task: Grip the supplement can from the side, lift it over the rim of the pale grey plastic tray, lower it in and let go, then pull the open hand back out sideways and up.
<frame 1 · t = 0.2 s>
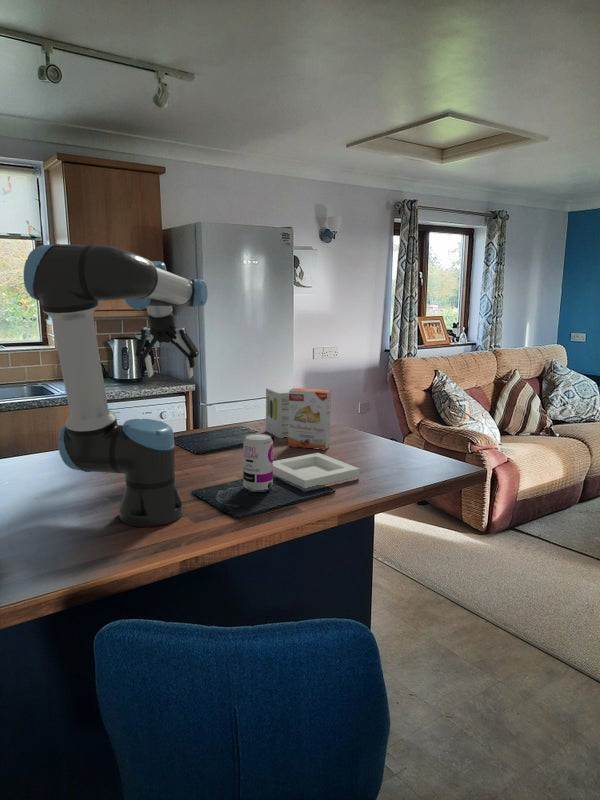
hand: (170, 376, 184), 27 cm above the table, tool tilted 15°, fingers open, 13 cm apart
tray: (311, 476, 171), on the table
supplement can: (258, 489, 160), on the table
supplement box: (287, 433, 223), on the table
cracker box: (308, 447, 204), on the table
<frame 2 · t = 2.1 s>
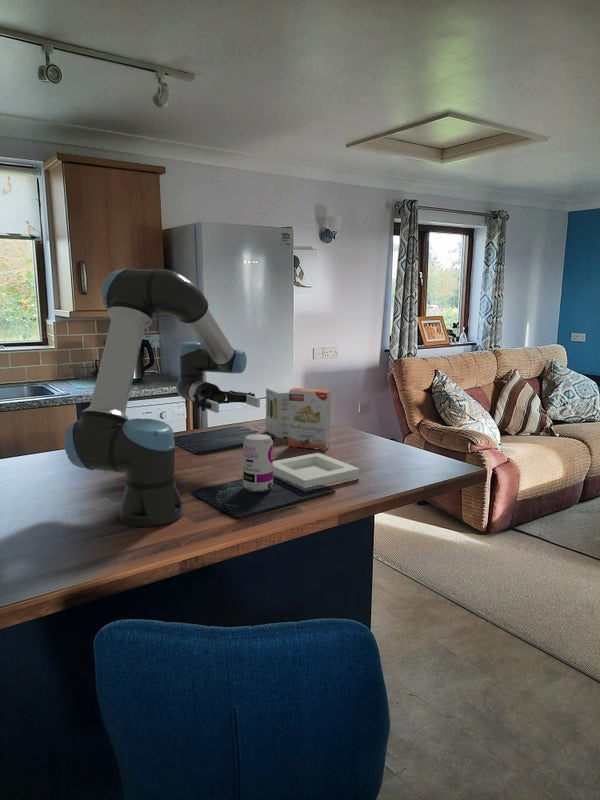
hand: (238, 405, 164), 22 cm above the table, tool horizontal, fingers open, 13 cm apart
nothing on the table moved.
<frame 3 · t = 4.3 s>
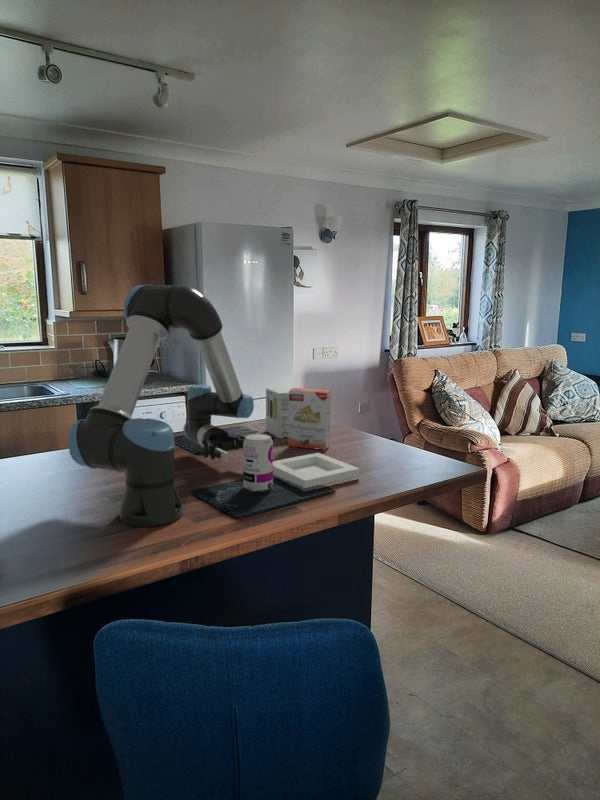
hand: (248, 454, 164), 8 cm above the table, tool horizontal, fingers open, 13 cm apart
nothing on the table moved.
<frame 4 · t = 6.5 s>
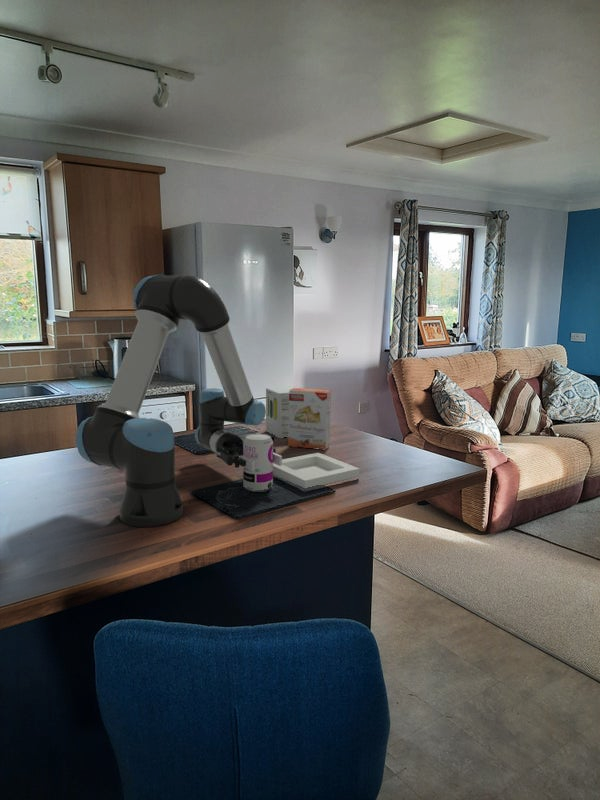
hand: (267, 463, 155), 9 cm above the table, tool horizontal, fingers closed on supplement can, 8 cm apart
supplement can: (258, 489, 160), on the table, touching gripper
everything else where it was.
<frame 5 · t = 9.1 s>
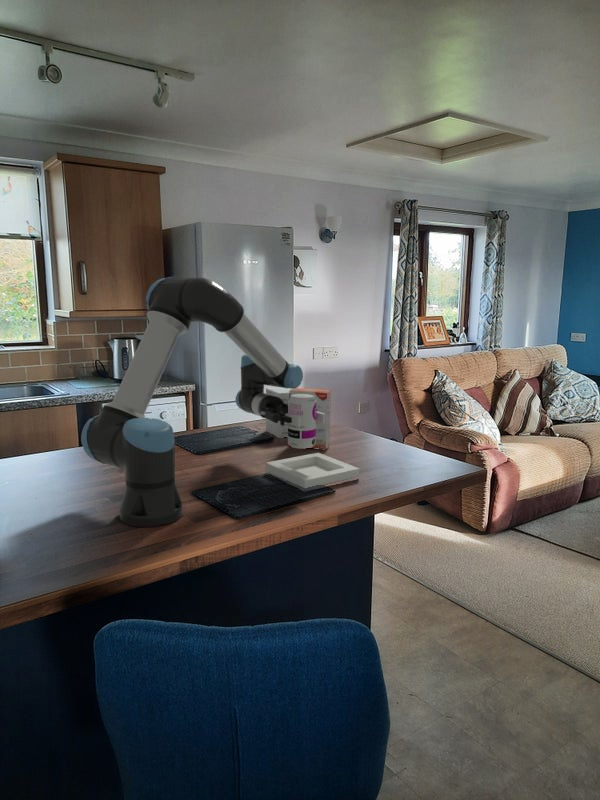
hand: (312, 420, 162), 19 cm above the table, tool horizontal, fingers closed on supplement can, 8 cm apart
supplement can: (301, 446, 168), point 10 cm above the table, touching gripper
everything else where it was.
when the fingers open (11 cm above the table, at t = 11.7 s): supplement can drops 1 cm, resting on tray.
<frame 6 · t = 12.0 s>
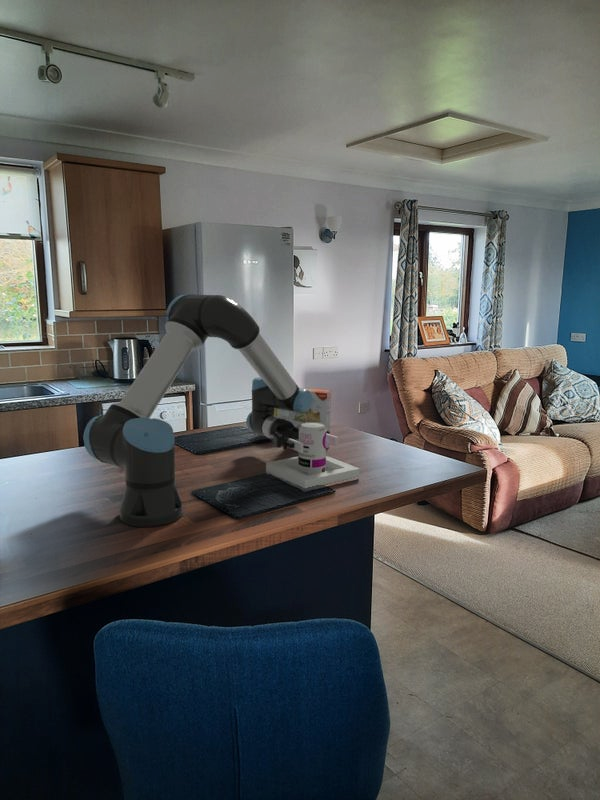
hand: (320, 444, 166), 11 cm above the table, tool horizontal, fingers open, 12 cm apart
supplement can: (311, 474, 171), point 1 cm above the table, touching tray
everything else where it was.
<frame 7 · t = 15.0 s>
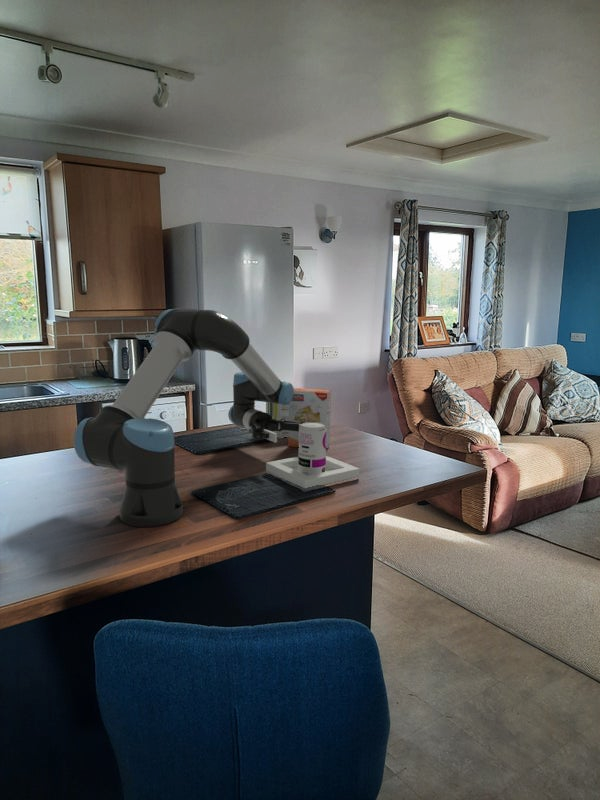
hand: (294, 435, 177), 11 cm above the table, tool horizontal, fingers open, 13 cm apart
nothing on the table moved.
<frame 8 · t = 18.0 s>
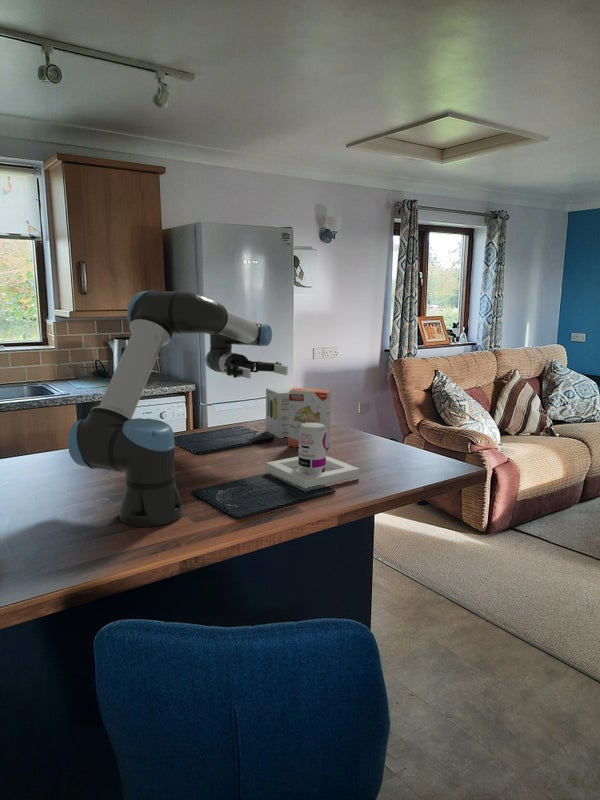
hand: (268, 372, 176), 30 cm above the table, tool horizontal, fingers open, 13 cm apart
nothing on the table moved.
at the end: supplement can inside the target area on the tray (0.1 cm from its centre), point 0.8 cm above the tray's base; supplement can tilted 0°; the gripper is holding nothing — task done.
